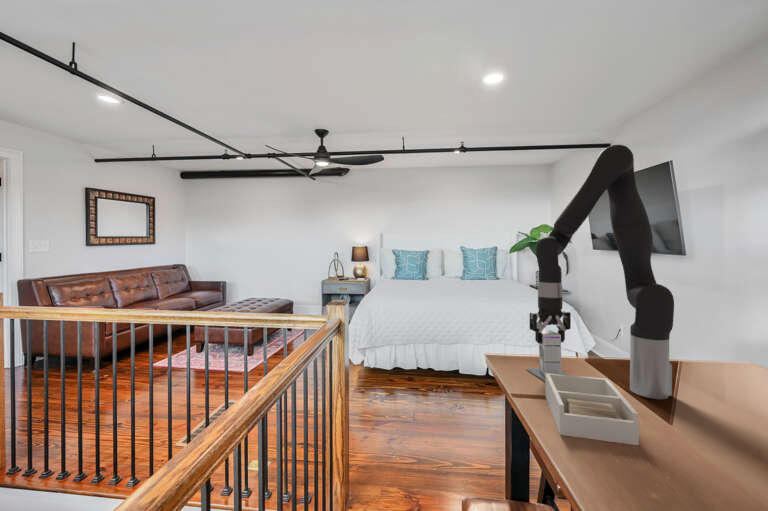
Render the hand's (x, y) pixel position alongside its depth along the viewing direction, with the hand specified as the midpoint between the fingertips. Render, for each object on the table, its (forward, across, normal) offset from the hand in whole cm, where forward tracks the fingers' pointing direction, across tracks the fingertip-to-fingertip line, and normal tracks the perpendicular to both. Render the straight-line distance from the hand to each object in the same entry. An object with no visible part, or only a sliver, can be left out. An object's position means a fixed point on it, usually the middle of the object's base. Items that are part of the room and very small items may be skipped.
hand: (550, 342), depth 116 cm
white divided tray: (+11, +9, +28) cm, 31 cm away
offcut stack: (+11, +11, +33) cm, 37 cm away
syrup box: (+11, 0, 0) cm, 11 cm away
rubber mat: (+11, 0, 0) cm, 11 cm away
